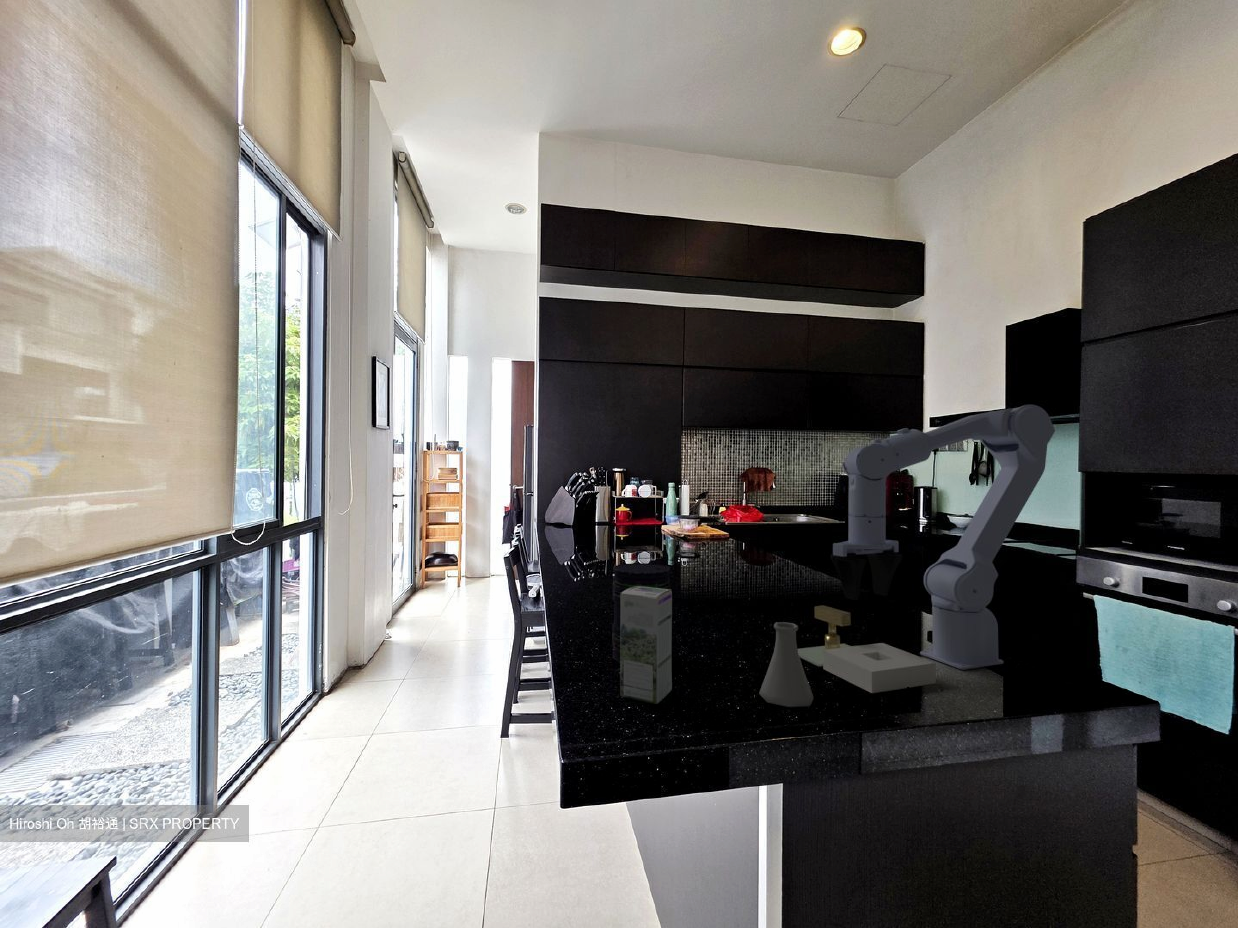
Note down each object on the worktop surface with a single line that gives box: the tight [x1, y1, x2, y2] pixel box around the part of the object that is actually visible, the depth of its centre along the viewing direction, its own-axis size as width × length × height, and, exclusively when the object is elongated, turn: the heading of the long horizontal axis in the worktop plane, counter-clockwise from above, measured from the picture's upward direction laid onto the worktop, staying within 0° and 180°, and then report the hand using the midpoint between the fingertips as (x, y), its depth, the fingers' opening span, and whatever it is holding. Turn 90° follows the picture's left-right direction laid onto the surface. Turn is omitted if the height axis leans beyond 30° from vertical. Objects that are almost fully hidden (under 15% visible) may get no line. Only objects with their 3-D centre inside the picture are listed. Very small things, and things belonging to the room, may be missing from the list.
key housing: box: [822, 642, 937, 694], centre depth 81 cm, size 12×10×3 cm
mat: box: [797, 643, 852, 667], centre depth 90 cm, size 12×8×1 cm, turn 109°
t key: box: [814, 604, 852, 650], centre depth 90 cm, size 6×2×8 cm, turn 24°
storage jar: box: [611, 562, 671, 663], centre depth 90 cm, size 10×10×15 cm
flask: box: [758, 621, 814, 708], centre depth 73 cm, size 7×7×10 cm
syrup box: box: [619, 586, 673, 705], centre depth 74 cm, size 6×6×14 cm
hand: (866, 596), depth 89 cm, fingers open, 7 cm apart
